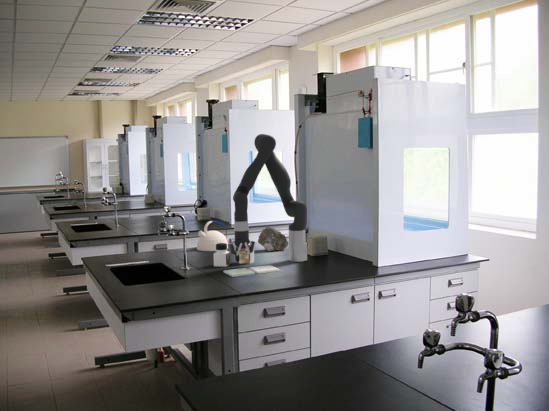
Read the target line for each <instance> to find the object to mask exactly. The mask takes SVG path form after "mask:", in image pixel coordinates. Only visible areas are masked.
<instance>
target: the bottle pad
mask: <svg viewBox="0 0 549 411" xmlns="http://www.w3.org/2000/svg"><path fill="white" fill-rule="evenodd" d="M223 273H224V274H226V275H228V276H229V277H231V278H234V277H235V278H236V277H242V276H244V277H245V276H252V275H256V272H253V271H251V270H249V268H247V267H244V268H243V267H241V268H235V269H234V268H233V269H225V270H223Z"/></svg>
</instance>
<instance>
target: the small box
mask: <svg viewBox="0 0 549 411" xmlns="http://www.w3.org/2000/svg"><path fill="white" fill-rule="evenodd" d="M248 248H249V249H250V243H249V244H248ZM239 252H246V251H245V249H240V251H239ZM236 263H237V264H239V263H238V262H237V261H236ZM253 263H255V248H254V249H253V252H251V253H250V260H249V263H245V264H248V265H251V264H253Z"/></svg>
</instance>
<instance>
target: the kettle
mask: <svg viewBox="0 0 549 411" xmlns="http://www.w3.org/2000/svg"><path fill="white" fill-rule="evenodd" d="M210 224H217V225H220V226H221V227H222V228H223V227H226V224H224V223H222V222H221V221H218V220H209V221H207V222H206V223H205V225H204V227H203V230H198V233H197V235H198V236H199V237H198V240H197V242H196V250H197V251H201V252H217V251H216V244H218V243H226V244H227V250H228V249H229V245H228V239H227V237H226V236H225V235H224V233H221V230H220V229H219V230H217V229H216V230H208V227H209V225H210Z"/></svg>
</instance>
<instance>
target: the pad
mask: <svg viewBox="0 0 549 411" xmlns="http://www.w3.org/2000/svg"><path fill="white" fill-rule="evenodd" d="M248 269H249V270H251V271H253V272H255V274H266V273H268V274H269V273H275V272H280V271H281V269H280V268H278V267H275V266H273V265H270V264H269V265H267V264H266V265H261V266H252V267H248Z"/></svg>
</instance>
